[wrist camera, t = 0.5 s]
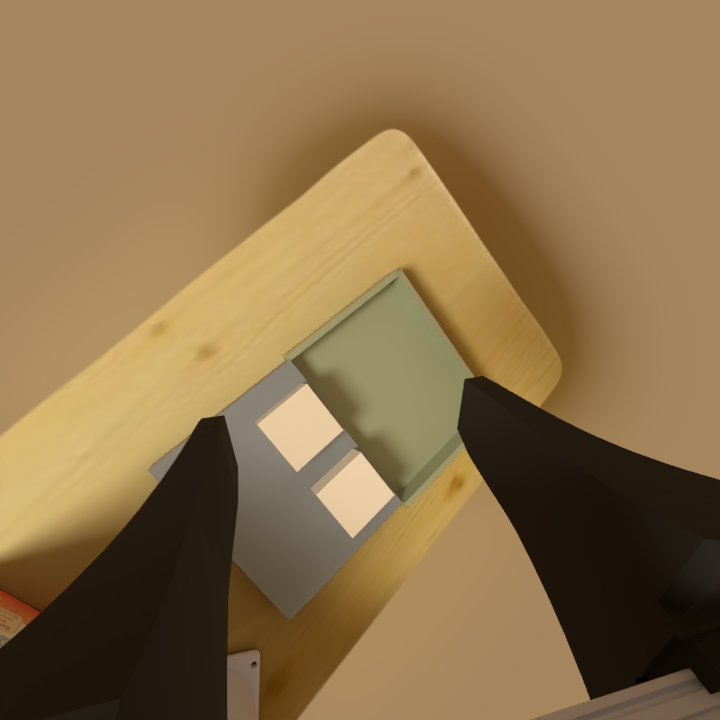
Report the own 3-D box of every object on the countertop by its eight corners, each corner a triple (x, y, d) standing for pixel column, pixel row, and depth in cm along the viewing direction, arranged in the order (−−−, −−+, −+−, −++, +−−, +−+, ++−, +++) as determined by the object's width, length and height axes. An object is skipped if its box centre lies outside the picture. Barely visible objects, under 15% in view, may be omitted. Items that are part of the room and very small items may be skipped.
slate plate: (285, 608, 34) (289, 621, 32) (152, 464, 31) (148, 470, 29) (393, 496, 38) (402, 502, 36) (285, 360, 35) (289, 359, 33)
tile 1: (292, 466, 33) (296, 472, 31) (254, 421, 32) (257, 424, 30) (336, 427, 34) (343, 430, 32) (301, 383, 33) (306, 383, 32)
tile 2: (344, 529, 34) (352, 538, 32) (310, 488, 33) (316, 495, 31) (384, 489, 36) (394, 495, 34) (352, 448, 35) (360, 452, 33)
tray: (396, 500, 38) (408, 508, 36) (282, 356, 35) (287, 354, 33) (482, 410, 42) (498, 412, 40) (388, 273, 39) (399, 267, 37)
